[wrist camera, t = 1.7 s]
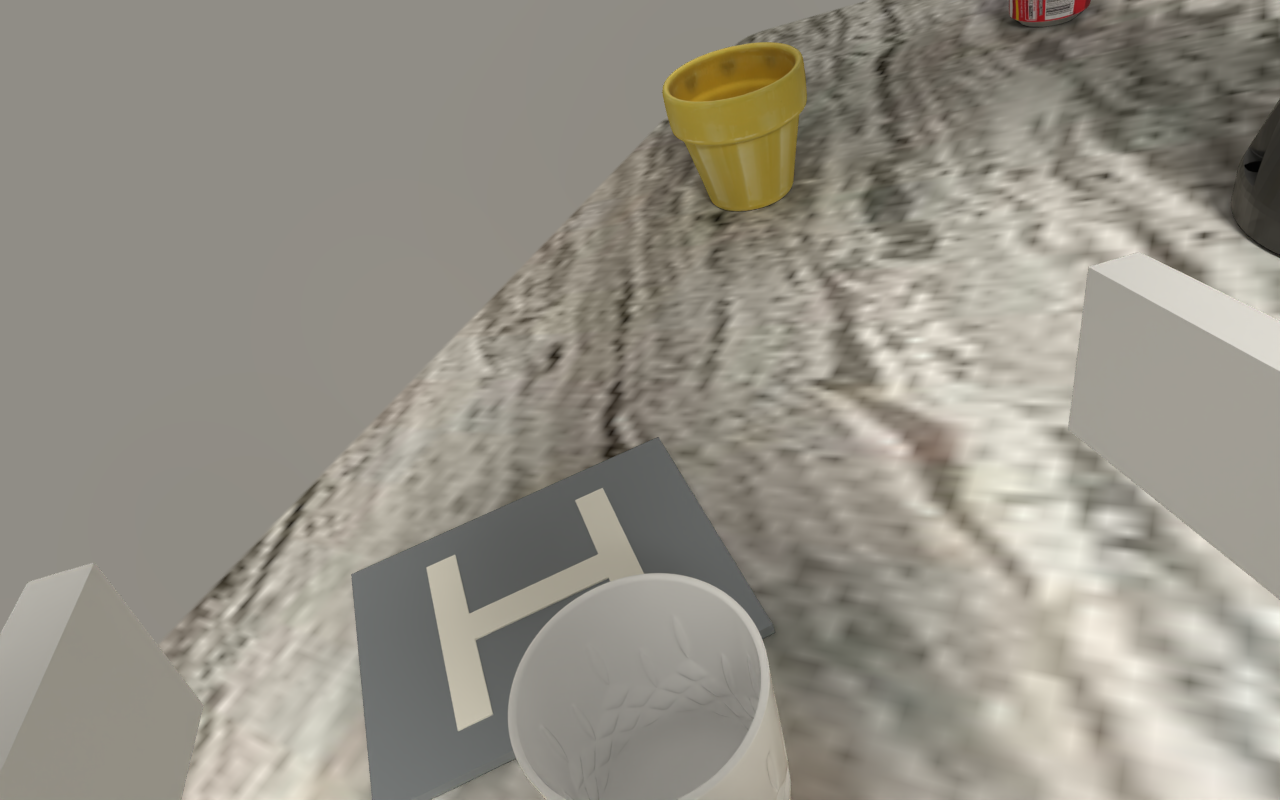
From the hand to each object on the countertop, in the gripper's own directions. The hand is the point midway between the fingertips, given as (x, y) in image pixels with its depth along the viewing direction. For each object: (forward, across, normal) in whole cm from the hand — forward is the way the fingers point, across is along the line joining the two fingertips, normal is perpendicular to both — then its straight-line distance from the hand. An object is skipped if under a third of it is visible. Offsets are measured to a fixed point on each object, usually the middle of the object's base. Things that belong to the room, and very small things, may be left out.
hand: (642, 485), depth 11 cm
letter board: (+21, -4, -22) cm, 31 cm away
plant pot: (+53, +19, -18) cm, 59 cm away
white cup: (+8, 0, -23) cm, 25 cm away
